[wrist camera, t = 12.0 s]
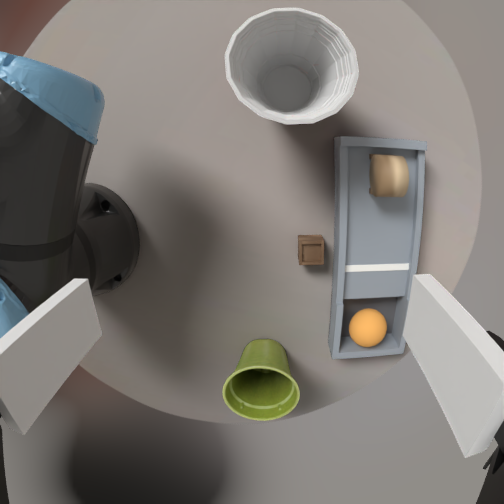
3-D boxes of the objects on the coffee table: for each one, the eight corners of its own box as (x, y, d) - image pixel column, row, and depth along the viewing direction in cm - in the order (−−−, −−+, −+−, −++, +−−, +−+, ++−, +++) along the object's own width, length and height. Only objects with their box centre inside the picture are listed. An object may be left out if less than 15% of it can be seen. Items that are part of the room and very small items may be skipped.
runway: (328, 342, 43) (331, 359, 39) (334, 137, 34) (340, 136, 31) (394, 337, 42) (403, 353, 38) (413, 141, 33) (426, 141, 30)
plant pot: (218, 357, 45) (207, 397, 37) (258, 315, 42) (253, 353, 34) (268, 388, 46) (266, 429, 38) (310, 350, 44) (316, 391, 35)
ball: (341, 309, 40) (342, 340, 41) (362, 326, 35) (361, 359, 37) (372, 297, 41) (372, 328, 42) (395, 313, 36) (393, 345, 38)
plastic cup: (351, 73, 32) (382, 45, 20) (306, 149, 35) (321, 150, 24) (268, 30, 31) (264, -15, 19) (223, 104, 34) (199, 87, 23)
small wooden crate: (298, 257, 39) (299, 265, 37) (298, 235, 38) (299, 241, 36) (320, 256, 39) (323, 264, 37) (321, 234, 38) (324, 241, 36)
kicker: (369, 193, 34) (381, 200, 29) (369, 153, 32) (381, 155, 28) (393, 193, 33) (408, 200, 29) (394, 155, 32) (409, 156, 28)
